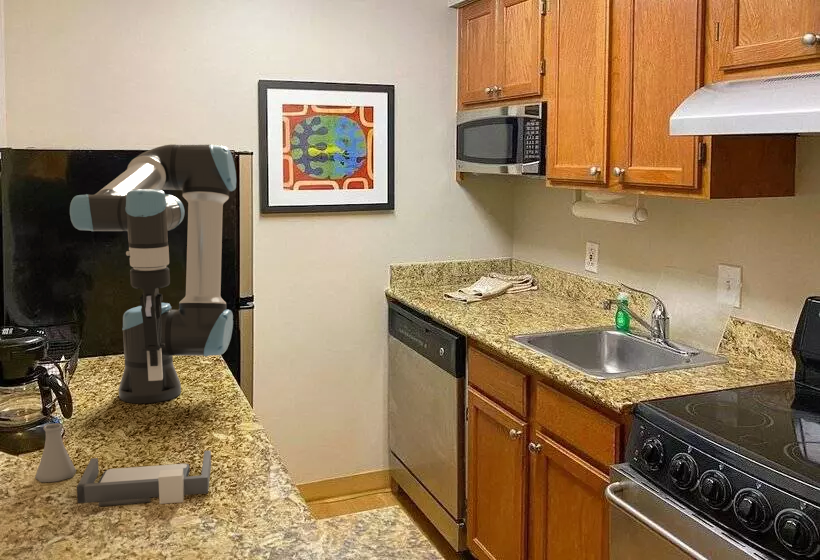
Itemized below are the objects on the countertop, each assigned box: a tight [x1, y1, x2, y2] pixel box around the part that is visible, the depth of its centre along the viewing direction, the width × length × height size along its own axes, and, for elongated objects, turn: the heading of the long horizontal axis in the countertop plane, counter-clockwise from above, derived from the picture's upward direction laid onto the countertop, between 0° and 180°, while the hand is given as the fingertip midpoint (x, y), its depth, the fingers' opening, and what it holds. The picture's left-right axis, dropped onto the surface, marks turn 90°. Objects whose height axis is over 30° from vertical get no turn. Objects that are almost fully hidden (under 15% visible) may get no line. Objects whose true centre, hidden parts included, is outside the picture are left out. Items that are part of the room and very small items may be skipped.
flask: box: [34, 422, 77, 483], centre depth 147 cm, size 7×7×10 cm
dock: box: [76, 450, 212, 507], centre depth 143 cm, size 16×22×5 cm
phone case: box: [97, 463, 191, 483], centre depth 146 cm, size 9×2×16 cm
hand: (155, 379), depth 158 cm, fingers closed
